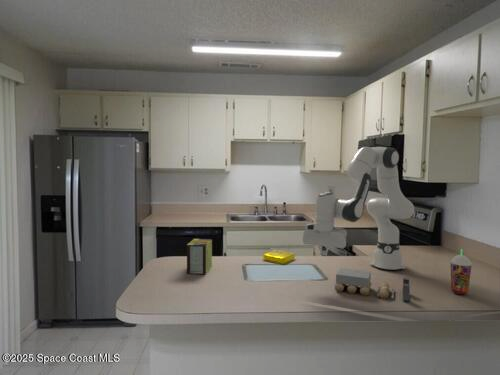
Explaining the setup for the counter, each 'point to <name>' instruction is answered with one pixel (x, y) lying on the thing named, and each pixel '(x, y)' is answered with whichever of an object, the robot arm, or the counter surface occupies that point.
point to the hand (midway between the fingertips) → (323, 255)
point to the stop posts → (406, 289)
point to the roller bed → (363, 290)
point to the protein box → (199, 256)
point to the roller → (384, 291)
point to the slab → (353, 277)
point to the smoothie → (460, 274)
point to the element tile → (279, 257)
